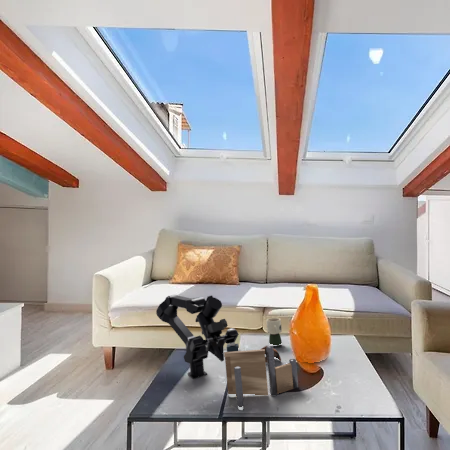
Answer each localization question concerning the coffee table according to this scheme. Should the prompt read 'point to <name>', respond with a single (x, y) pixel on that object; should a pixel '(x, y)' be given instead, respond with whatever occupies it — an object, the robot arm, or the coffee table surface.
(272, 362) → the gate frame
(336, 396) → the coffee table surface
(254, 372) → the gate
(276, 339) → the character mug
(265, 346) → the pottery mug
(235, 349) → the grey bust figurine
